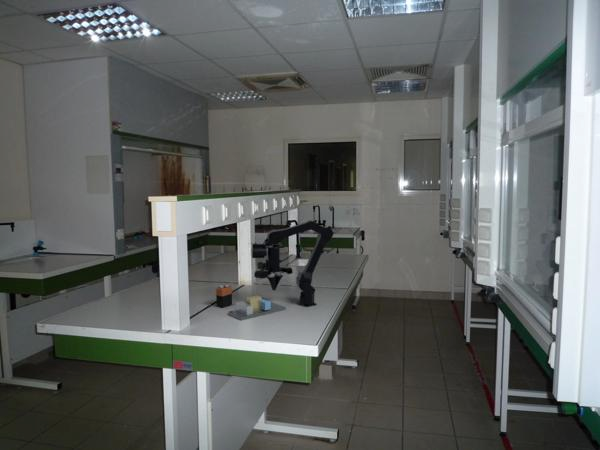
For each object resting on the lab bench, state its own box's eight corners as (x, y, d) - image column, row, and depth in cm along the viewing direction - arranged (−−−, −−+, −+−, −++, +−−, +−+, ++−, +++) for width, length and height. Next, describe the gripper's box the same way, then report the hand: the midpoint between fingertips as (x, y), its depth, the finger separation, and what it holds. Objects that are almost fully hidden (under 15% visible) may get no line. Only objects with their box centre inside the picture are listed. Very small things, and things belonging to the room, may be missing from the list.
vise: (271, 304, 201) (271, 294, 201) (285, 309, 193) (285, 298, 193) (228, 314, 186) (227, 303, 185) (241, 320, 178) (241, 308, 177)
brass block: (257, 308, 191) (257, 295, 191) (261, 309, 189) (261, 296, 188) (246, 310, 188) (245, 297, 187) (250, 312, 185) (250, 299, 184)
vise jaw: (261, 304, 196) (261, 296, 196) (273, 308, 189) (273, 299, 189) (253, 306, 193) (253, 297, 193) (265, 310, 187) (265, 301, 186)
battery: (216, 306, 198) (215, 286, 198) (226, 303, 204) (225, 283, 203) (222, 308, 196) (222, 287, 195) (232, 304, 202) (232, 284, 201)
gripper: (278, 253, 208) (278, 284, 209) (247, 257, 195) (247, 290, 197) (293, 256, 199) (293, 288, 201) (261, 260, 187) (261, 294, 188)
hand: (273, 290), depth 197 cm, fingers closed
